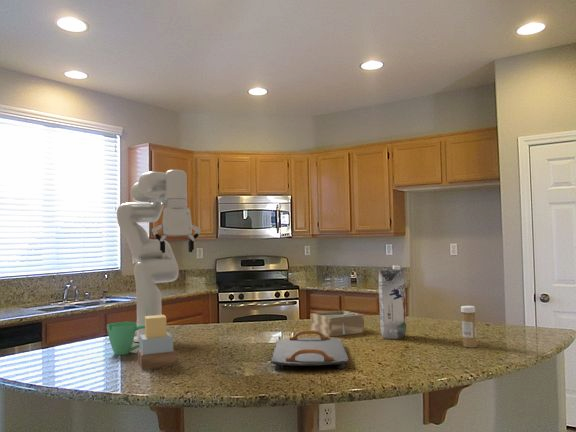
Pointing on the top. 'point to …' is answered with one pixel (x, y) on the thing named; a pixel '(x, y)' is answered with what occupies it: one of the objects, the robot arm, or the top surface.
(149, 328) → the ochre cube
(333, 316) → the right angle wall
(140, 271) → the robot arm
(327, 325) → the coaster caddy
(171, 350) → the slate block
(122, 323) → the mug
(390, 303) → the juice carton
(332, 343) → the serving board
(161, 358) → the walnut block
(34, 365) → the top surface
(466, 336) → the sprinkles bottle
